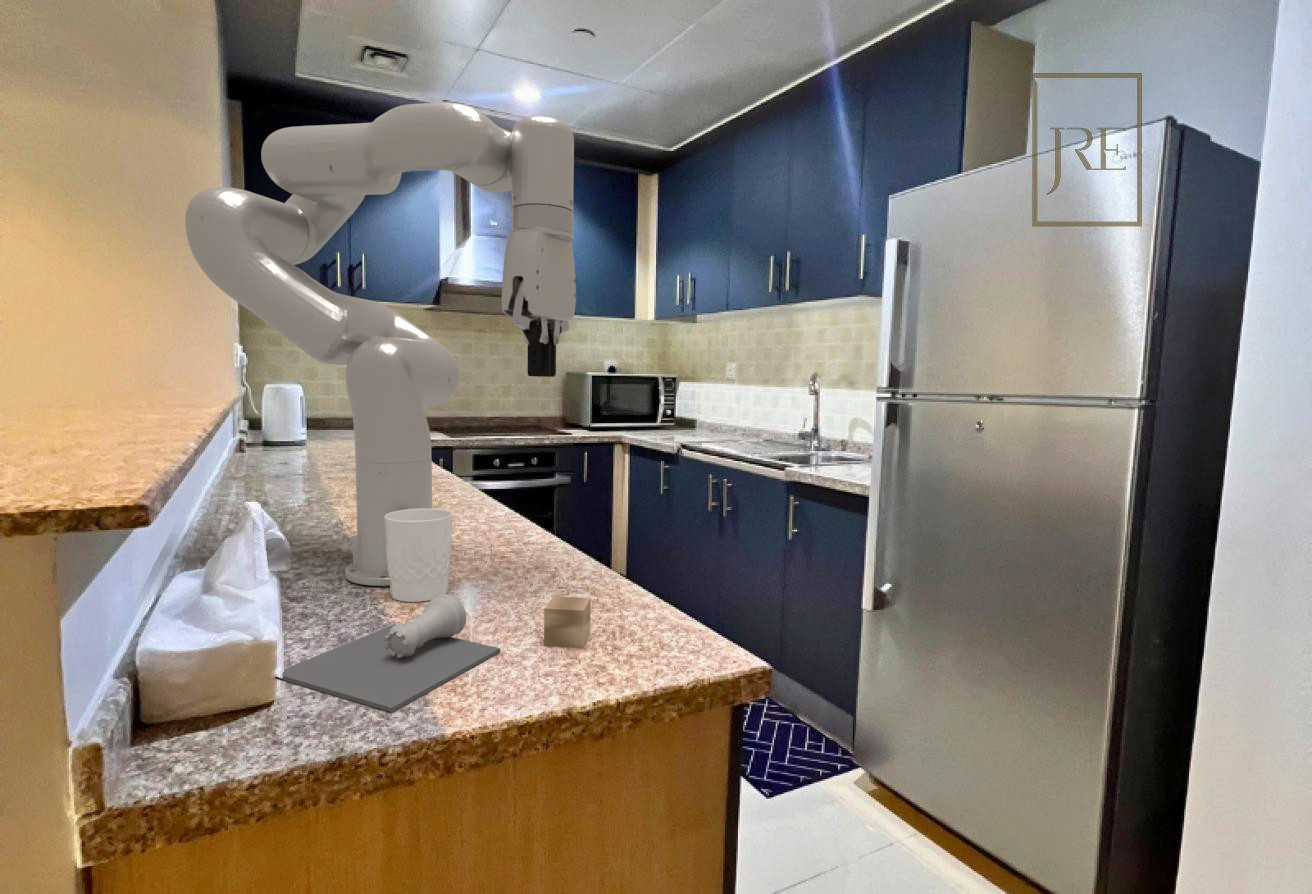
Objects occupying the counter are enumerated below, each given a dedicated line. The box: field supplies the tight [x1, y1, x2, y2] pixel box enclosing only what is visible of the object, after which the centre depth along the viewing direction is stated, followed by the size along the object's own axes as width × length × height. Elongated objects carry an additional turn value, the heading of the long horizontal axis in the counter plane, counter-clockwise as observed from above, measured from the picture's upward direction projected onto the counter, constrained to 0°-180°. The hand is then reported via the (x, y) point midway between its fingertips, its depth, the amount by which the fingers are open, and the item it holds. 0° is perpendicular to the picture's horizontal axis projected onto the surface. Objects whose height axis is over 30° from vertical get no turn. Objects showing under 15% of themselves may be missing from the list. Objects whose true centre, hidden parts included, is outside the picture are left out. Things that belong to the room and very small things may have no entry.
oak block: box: [543, 595, 592, 649], centre depth 72 cm, size 4×4×4 cm
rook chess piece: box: [385, 594, 467, 658], centre depth 69 cm, size 4×4×8 cm
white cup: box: [384, 508, 453, 603], centre depth 86 cm, size 8×8×10 cm
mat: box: [282, 623, 501, 713], centre depth 65 cm, size 14×14×1 cm
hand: (541, 376), depth 88 cm, fingers closed
